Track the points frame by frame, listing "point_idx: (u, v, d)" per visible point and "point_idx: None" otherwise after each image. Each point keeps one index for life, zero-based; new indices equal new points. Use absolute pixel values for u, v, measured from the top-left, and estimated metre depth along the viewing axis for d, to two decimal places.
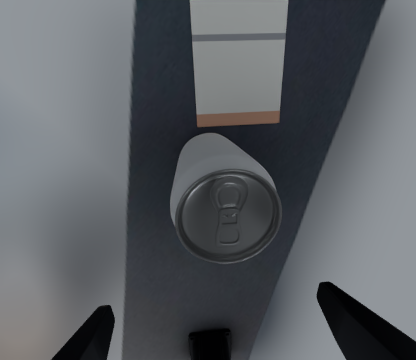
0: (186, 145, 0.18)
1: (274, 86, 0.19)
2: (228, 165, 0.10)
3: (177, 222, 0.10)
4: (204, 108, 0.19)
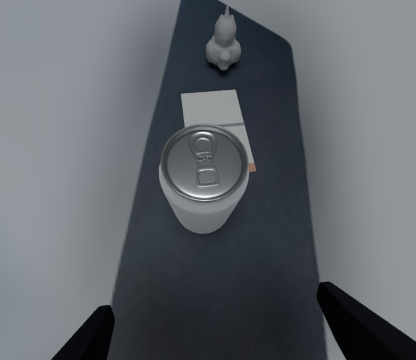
0: None
1: (245, 148, 0.27)
2: (200, 129, 0.14)
3: (162, 161, 0.12)
4: None
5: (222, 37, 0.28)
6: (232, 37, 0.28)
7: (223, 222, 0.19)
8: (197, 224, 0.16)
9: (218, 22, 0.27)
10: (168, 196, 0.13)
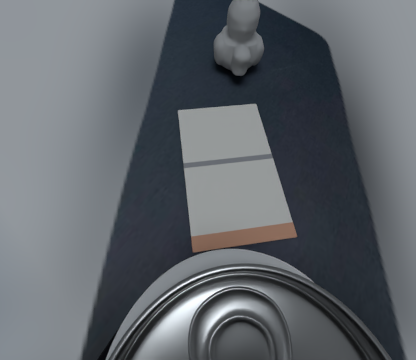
0: None
1: (276, 197, 0.17)
2: (226, 264, 0.05)
3: None
4: (200, 229, 0.16)
5: (239, 27, 0.19)
6: (254, 27, 0.19)
7: None
8: None
9: (233, 4, 0.18)
10: None
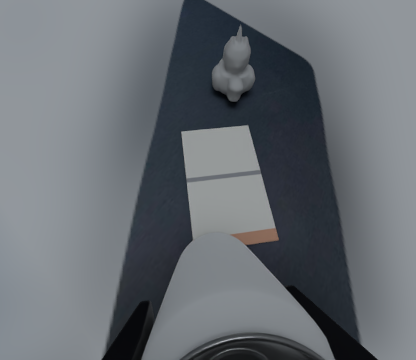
0: (180, 257, 0.14)
1: (263, 207, 0.21)
2: (223, 321, 0.05)
3: None
4: (200, 233, 0.20)
5: (233, 64, 0.22)
6: (245, 63, 0.23)
7: None
8: None
9: (228, 45, 0.21)
10: None
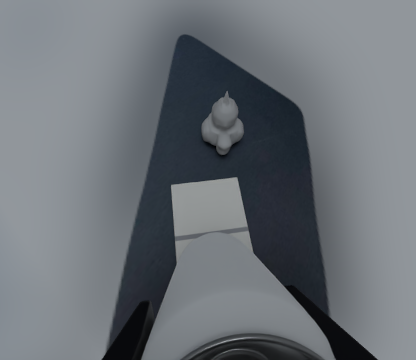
0: (180, 257, 0.14)
1: None
2: (223, 322, 0.05)
3: None
4: None
5: (221, 123, 0.23)
6: (233, 122, 0.23)
7: None
8: None
9: (216, 108, 0.22)
10: None
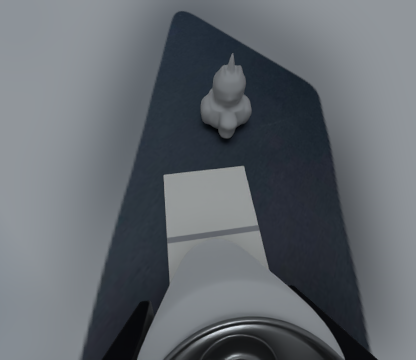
0: (180, 263, 0.14)
1: None
2: (222, 309, 0.05)
3: None
4: None
5: (225, 97, 0.18)
6: (239, 96, 0.19)
7: None
8: None
9: (218, 76, 0.18)
10: None
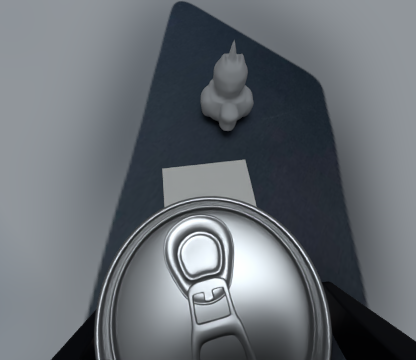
0: None
1: None
2: None
3: (99, 332, 0.05)
4: None
5: (226, 88, 0.18)
6: (241, 86, 0.18)
7: None
8: None
9: (219, 65, 0.17)
10: None
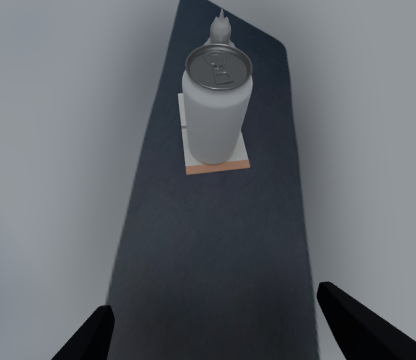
0: None
1: (239, 146, 0.28)
2: None
3: (187, 68, 0.16)
4: (191, 162, 0.26)
5: (218, 39, 0.29)
6: (227, 39, 0.29)
7: (233, 143, 0.23)
8: (214, 136, 0.20)
9: (213, 24, 0.28)
10: (193, 98, 0.17)
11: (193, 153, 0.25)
